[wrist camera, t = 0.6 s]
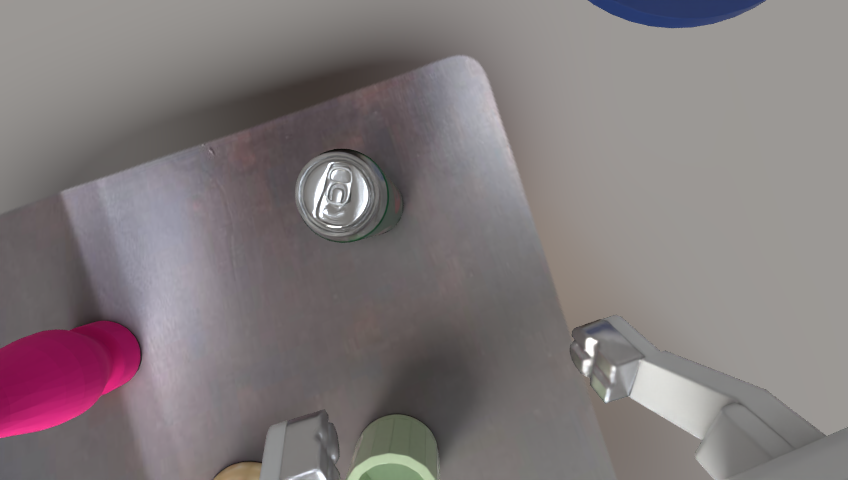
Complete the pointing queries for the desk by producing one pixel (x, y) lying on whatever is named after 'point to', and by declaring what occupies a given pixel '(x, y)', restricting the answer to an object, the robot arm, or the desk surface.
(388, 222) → the soda can
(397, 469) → the socket
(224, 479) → the hand bell
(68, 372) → the pepper mill
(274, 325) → the desk surface
